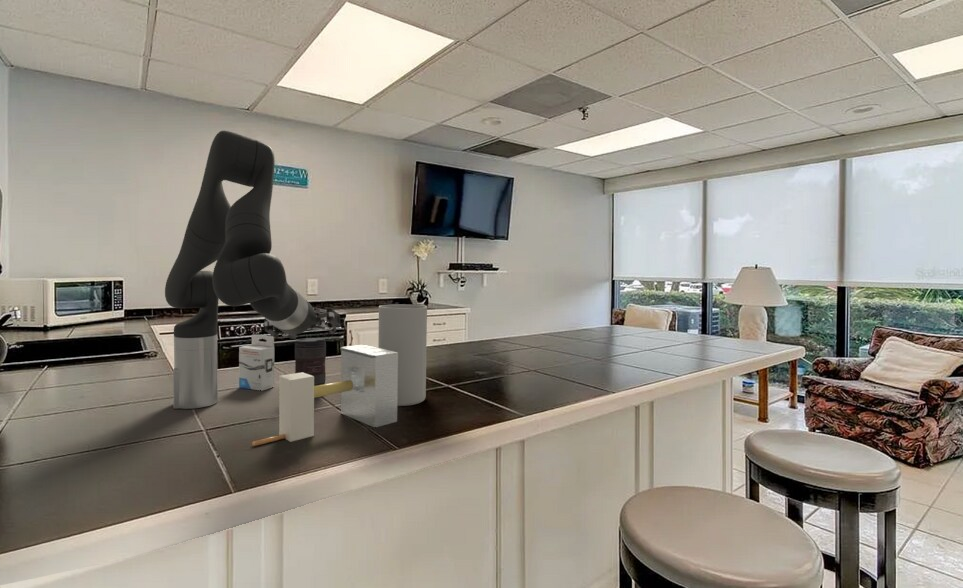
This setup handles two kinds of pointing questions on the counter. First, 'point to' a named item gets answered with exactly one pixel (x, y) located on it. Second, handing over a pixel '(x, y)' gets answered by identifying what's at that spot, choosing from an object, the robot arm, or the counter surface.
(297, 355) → the dark lidded canister
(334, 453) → the counter surface
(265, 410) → the counter surface
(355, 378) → the block
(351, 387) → the plug
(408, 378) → the cylinder vase
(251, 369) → the ink box
